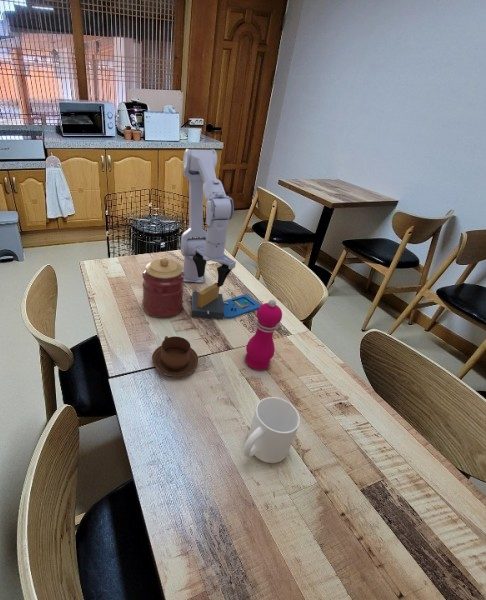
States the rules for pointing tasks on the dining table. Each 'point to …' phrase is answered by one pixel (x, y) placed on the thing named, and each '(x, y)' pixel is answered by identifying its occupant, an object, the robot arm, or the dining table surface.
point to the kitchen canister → (163, 288)
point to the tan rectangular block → (208, 295)
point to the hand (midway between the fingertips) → (210, 280)
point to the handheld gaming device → (239, 306)
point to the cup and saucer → (175, 357)
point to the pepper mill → (263, 336)
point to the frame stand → (208, 308)
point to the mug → (272, 430)
